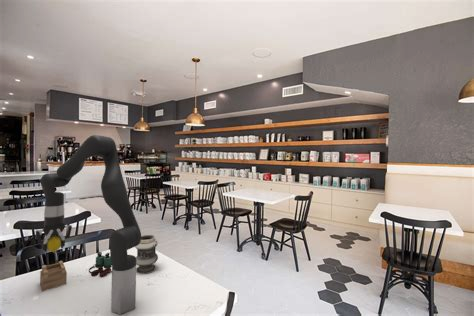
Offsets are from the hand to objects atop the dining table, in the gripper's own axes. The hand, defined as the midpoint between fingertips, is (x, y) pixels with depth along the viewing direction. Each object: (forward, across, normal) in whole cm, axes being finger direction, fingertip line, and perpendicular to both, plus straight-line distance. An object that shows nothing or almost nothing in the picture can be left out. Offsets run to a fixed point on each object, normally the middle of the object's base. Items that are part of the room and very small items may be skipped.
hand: (53, 249), depth 111 cm
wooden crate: (+17, 0, 0) cm, 17 cm away
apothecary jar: (+17, +39, -15) cm, 45 cm away
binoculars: (+17, +19, -5) cm, 26 cm away
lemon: (+2, 0, 0) cm, 2 cm away
